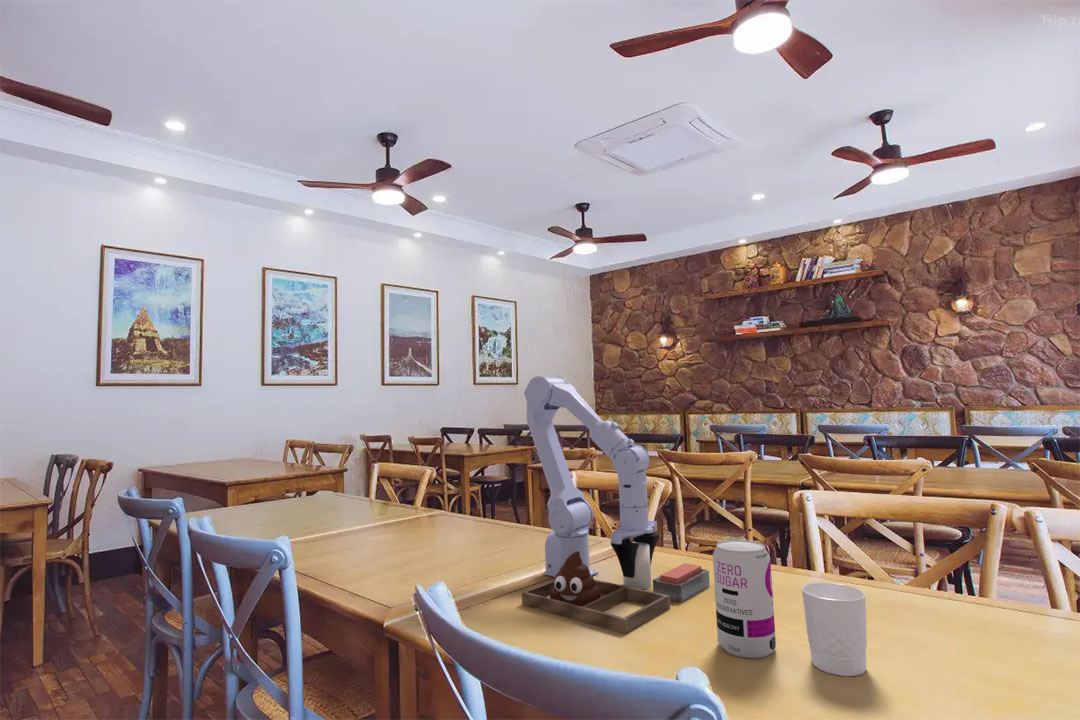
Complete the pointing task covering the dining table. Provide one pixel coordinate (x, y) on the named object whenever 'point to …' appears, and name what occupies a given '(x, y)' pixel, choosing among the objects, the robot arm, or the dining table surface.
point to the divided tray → (601, 605)
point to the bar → (680, 573)
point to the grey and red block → (683, 586)
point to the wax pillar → (640, 569)
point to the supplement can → (744, 598)
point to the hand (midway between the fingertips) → (636, 573)
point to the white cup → (836, 627)
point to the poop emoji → (574, 583)
